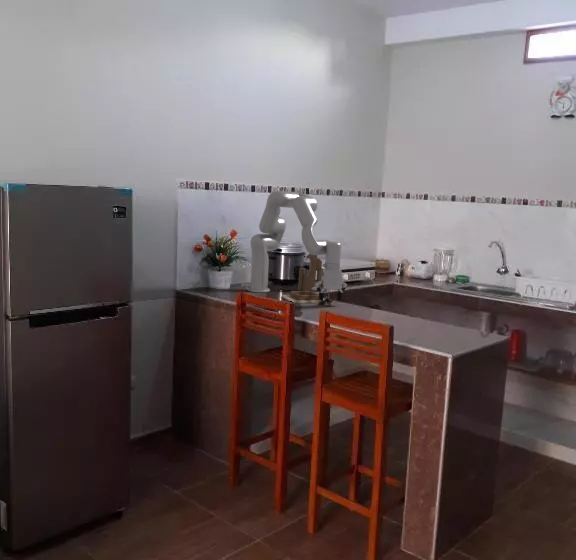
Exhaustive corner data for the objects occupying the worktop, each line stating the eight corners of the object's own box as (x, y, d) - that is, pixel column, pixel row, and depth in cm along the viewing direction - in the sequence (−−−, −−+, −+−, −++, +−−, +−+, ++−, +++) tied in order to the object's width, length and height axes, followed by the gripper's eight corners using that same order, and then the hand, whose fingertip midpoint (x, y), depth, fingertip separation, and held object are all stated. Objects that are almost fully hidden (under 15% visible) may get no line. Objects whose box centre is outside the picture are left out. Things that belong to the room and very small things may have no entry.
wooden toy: (322, 290, 368) (325, 247, 364) (326, 292, 361) (329, 248, 358) (297, 289, 363) (300, 246, 359) (301, 291, 357) (303, 247, 353)
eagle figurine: (339, 304, 318) (331, 297, 326) (334, 293, 315) (326, 286, 323) (327, 312, 317) (319, 305, 325) (321, 301, 314) (314, 294, 321)
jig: (293, 303, 319) (293, 296, 319) (281, 296, 336) (281, 290, 336) (329, 303, 326) (330, 296, 326) (316, 296, 343) (316, 290, 342)
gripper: (319, 267, 309) (317, 301, 312) (351, 267, 315) (348, 301, 318) (313, 265, 316) (311, 299, 319) (344, 265, 322) (342, 298, 325)
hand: (330, 300), depth 318 cm, fingers open, 9 cm apart
